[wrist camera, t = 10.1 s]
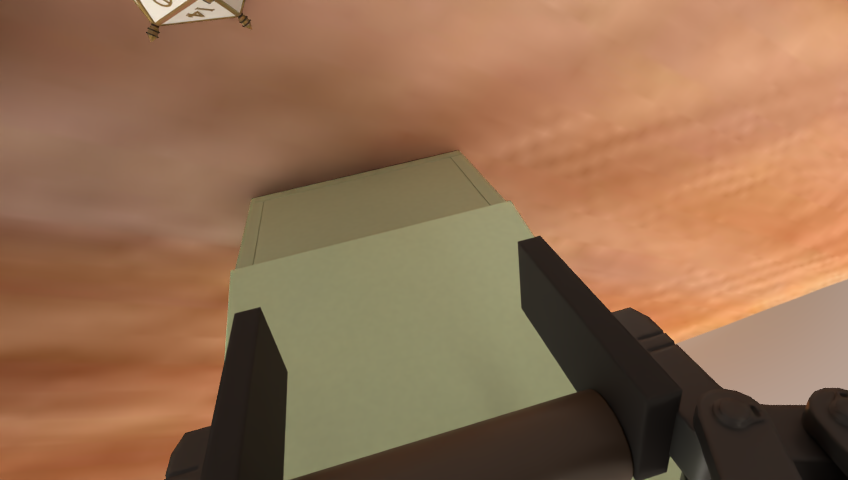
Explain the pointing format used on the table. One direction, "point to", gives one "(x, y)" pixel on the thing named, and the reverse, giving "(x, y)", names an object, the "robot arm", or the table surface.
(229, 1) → the game die
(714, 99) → the table surface
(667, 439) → the robot arm
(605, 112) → the table surface
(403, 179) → the chest
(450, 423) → the lid
